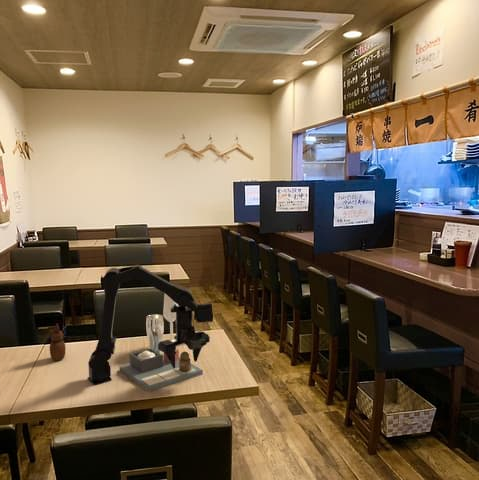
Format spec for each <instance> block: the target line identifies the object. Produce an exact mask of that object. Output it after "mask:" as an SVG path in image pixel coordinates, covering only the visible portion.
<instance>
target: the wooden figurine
mask: <svg viewBox="0 0 479 480" xmlns="http://www.w3.org/2000/svg"><path fill="white" fill-rule="evenodd" d="M63 339H64V333H63V331H62V330H60V326H59V323H58V322H57V323H55V325H54V327H53V331H51V334H50V340H51V342H50V344H49V354H50V358H51V359H52V360H53V361H63V359H64V358H65V356H66V343H65V341H64V340H63Z"/></svg>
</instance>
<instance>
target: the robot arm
mask: <svg viewBox="0 0 479 480" xmlns="http://www.w3.org/2000/svg"><path fill="white" fill-rule="evenodd" d="M102 279H103V280H102V281H103V292H104V304H103V311H102V319H101V327H100V335H99V338H98V342H97V344H96V347H95V350H94V351H93V352H92V353H91V355H90V358H89V360H88V362H87V365H88V377H86V378H87V380H88V381H89V382H90V383H91V384H92V385H95V386H96V385H100V384H103V383H107V382H109V381H112V377H111V376H112V375H111V374H112V372H111V371H112V370H111V369H112V367H111V365H110V361H109V360H111V358H112V356H113V355H115V351H116V341H117V337H116V336H114V337H113V325H114V319H115V318H114V317H115V310H116V304H117V303H116V301H117V295H118V292H119V290H120V285H121V284H124V283H126V282H130V281H132V280H134V279H138V280H140V281H141V282H143V283H146V284H147V285H149V286H151V287H153V288H154V289H157V291H160V292H162V293H163V294H164V295H165V294H166V295H168V296H169V297H170V298H171V299H172V300H173V301H174V302H175V303H177V304H178V306H177V305H176V304H174V306H173V307H172V308H171V312H176V320H175V324H173V329H175V336H174V335H173V340H175V341H174V342H171V341H170V339H165V340H162V341H161V342H159V344H158V350H160V351H162V352H163V354H164V353H165V354H166V355H167V357H168V359H169V361H170V363H171V365H172V367H173V368H175V354H176V353H177V352H175V350H176V349H177V347H180V346H185V345H186V346H187V348H188V349H189V350H192V356H193V361H194V362H198V358H199V357H200V356H199V355H200V354H201V353H200V352H201V350H202V349H203V347H204V346H206V345H207V343H210V341H211V340H210V339H211V337H210V335H209V334H208V333H206V332H205V331H197V332H196V331H195V330H196V328H195V326H194V325H193V320H194V321H195V322H196V324H197V323H198V324H199V323H201V324H202V323H213V322H214V313H213V304H212V302H206V303H197V302H196V300H195V299H194V298H193V296H192V292H191V290H190V289H189V288H188V287H186V286H183V285H180V284H176V283H173V282H169V281H168V280H167V279H165V278H162V277H161V276H159V275H157V274H155V273H154V272H152V271H150V270H148V269H146V268H144V267H143V266H142V265H141V264H134V265H133V266H125V267H120V268H117V267H111V268H109V269H108V270H106V272H105V274H104V276H103V278H102Z"/></svg>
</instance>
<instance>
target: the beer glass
mask: <svg viewBox="0 0 479 480" xmlns="http://www.w3.org/2000/svg"><path fill="white" fill-rule="evenodd" d="M145 323H146V324H145V326H146V327H145V328H146V335H147V341H148V349H150V348H152V349H153V350H155V351H157V352H158V353H160V354H162V355H163V354H164V352H162V351H160V350H158V344H159V342H161V341H163V337H164V329H165V326H164V325H165V324H164V316H163V314H157V313H156V314H148V315H147V316H146V321H145Z"/></svg>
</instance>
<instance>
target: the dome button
mask: <svg viewBox="0 0 479 480" xmlns="http://www.w3.org/2000/svg"><path fill="white" fill-rule="evenodd" d="M151 357H155V354H154V353H152V352H149V351H144V352H142V353H140V354H138V358H140V359H141V360H144V359H148V358H151Z"/></svg>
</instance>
